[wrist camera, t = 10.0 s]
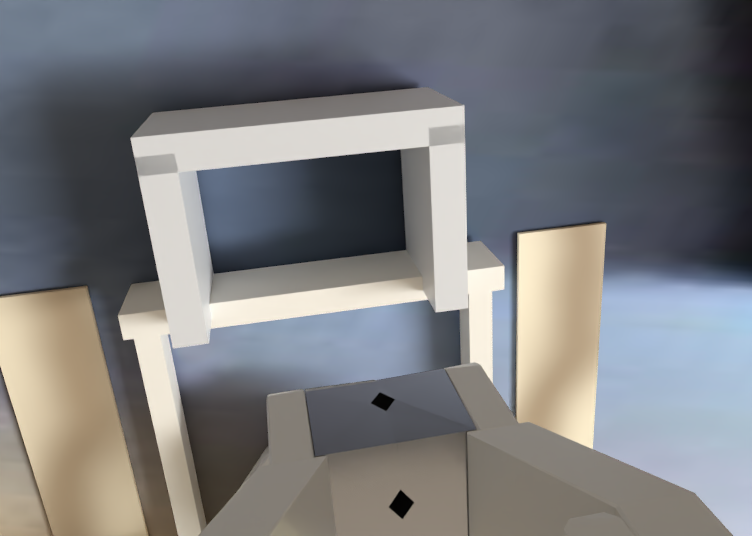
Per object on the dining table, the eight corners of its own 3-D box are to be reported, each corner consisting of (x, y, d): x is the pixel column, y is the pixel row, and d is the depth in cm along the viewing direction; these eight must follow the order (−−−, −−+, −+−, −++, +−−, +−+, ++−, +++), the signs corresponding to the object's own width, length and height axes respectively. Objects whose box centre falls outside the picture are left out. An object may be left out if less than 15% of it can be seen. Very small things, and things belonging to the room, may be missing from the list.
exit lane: (66, 569, 32) (64, 572, 32) (-19, 298, 27) (-21, 300, 27) (588, 478, 36) (590, 481, 35) (603, 222, 30) (605, 223, 30)
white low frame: (190, 553, 33) (180, 643, 28) (94, 117, 25) (59, 144, 20) (483, 502, 35) (519, 578, 30) (478, 82, 27) (525, 99, 22)
